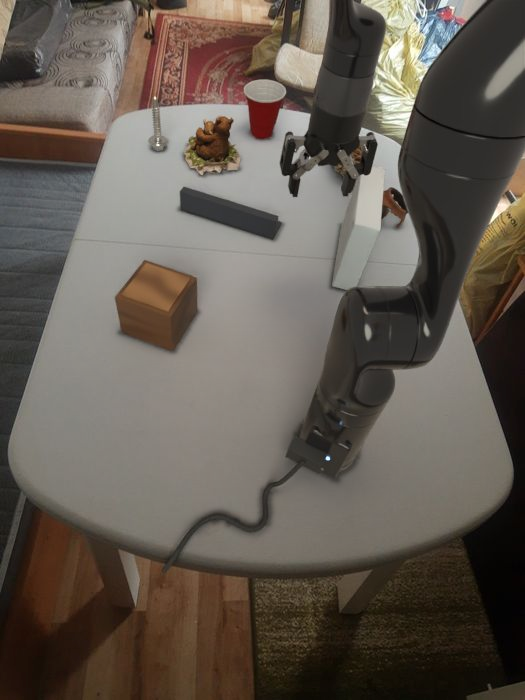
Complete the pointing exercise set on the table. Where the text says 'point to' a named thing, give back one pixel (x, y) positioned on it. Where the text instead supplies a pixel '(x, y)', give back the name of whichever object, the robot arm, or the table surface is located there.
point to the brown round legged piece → (394, 204)
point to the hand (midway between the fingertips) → (319, 193)
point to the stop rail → (229, 213)
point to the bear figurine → (212, 147)
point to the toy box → (157, 304)
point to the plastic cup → (263, 106)
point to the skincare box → (359, 229)
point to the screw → (157, 129)
